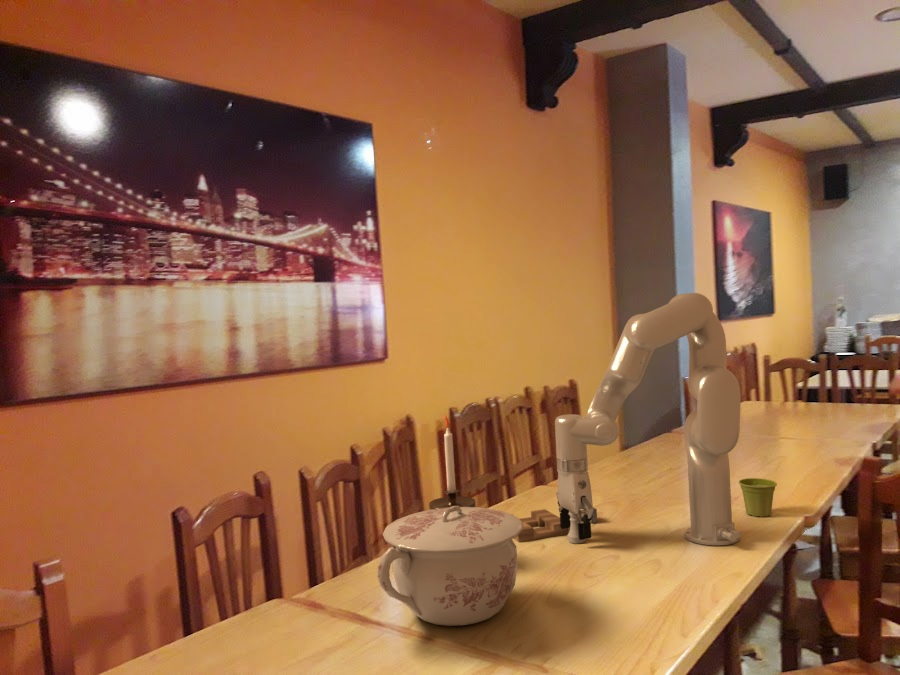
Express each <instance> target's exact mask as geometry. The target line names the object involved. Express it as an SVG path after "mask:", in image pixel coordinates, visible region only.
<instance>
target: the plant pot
mask: <svg viewBox="0 0 900 675" xmlns="http://www.w3.org/2000/svg"><path fill="white" fill-rule="evenodd" d="M738 484H739V485H740V489H741V491H742V496H743V497H742V498H743V503H744V508H745V514H747V516H750V515H751V516H753V517H755V516H760V517H759V518H764V517H763V516H766V517H769V516H768V515H770V516H772V510H773V501H774V494H775V490H776V487H777V485H778V483H777V482H776V481H774V480H772V479H767V478H758V477H757V478H756V477H748V478H742V479H740V480H738ZM761 516H762V517H761Z"/></svg>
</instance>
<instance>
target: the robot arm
mask: <svg viewBox="0 0 900 675" xmlns="http://www.w3.org/2000/svg"><path fill="white" fill-rule="evenodd" d="M685 336H686V338H687V341H688V353H689V354H688V355H689V356H688V379H687V380H688V382H687V386H688V392H689V393H690V395H691V396H692V398H694V400H696V409H695V410H692V412H690V413H689V414H688V416H687V417H686V419H685V422H684V425H683V435H684V436H683V437H684V442H685V449H686V458H687V459H686V460H687V471H688V472H687V473H688V474H687V476H688V477H687V480H688V497H689V499H688V500H689V516H690V527H688V528H687V529H685V530H684V538H685V539H687V540H688V541H690V542H692V543H696V544H699V545H707V546H728V545H733V544H736V543H738V542H739V541H740V540H741V539H740V538H741V536H742V532H741V531H739V530H735V529H736V527H735V522H733V517H732V516H733V512H732V494H731V493H732V492H731V470H730V467H731V466H730V458H729V453H730V452H731V451H733V449H735V447H736V446H737V444H738V440H739V438H740V429H741V388H740V384H739V380H738V379H737V377H736V376H735V374H734V373H733V372H731V371H730V370H729V369H728V368H727V362H728V360H727V359H728V358H727V340H726V339H727V338H726V334H725V329H724V327H723V325H722V323H721V321H720V319H719V318H718V316H717V315H716V313H714V309H713V304H712V302H711V301H710V299H709V298H708V297H706V296H705V295H704V294H701V293H698V292H687V293H680V294H677V295H674V297H672V298H671V299H670V300H669V302H668V303H666V304H664V305H662V306H660V307H657V308H656V309H653V310H650V311H648V312H646V313H639V314H634V315H633V316H631V317H630V318H629V319H628V320H627V322H626V324H625V325H624V327H623V330H622V332H621V335H620V338H619V340H618V342H617V345H616V346H615V350H614V352H613V354H612V357H611V359H610V361H609V363H608V366H607V368H606V371H605V372H604V374H603V376H602V379H601V381H600V383H599V385H598V387H597V389H596V391H595V393H594V396H593V398H592V400H591V402H590V405H589V407H588V409H587V411H586V414H585V417H584V416H583V415H580V414H576V413H575V414H561V415H558V416H557V417H555V420H554V430H555V431H554V434H555V452H556V472H558V473H557V491H556V492H555V493H556V498H557V504H558V512H559V517H560V527H561V528H562V529H565V528H569V529H570V525H571V521H570V515H569V514H568V513H569V512H570V511H571V512H573V513H575V514H577V517H578V520H579V522H580V523H578V536H579V539H580V540H584V539H585V540H588V539H589V540H590V539H591V538H592V526H591V524H592V520H591V519H592V517H593V515H592V514H593V508H594V507H593V495H592V494H593V493H592V486H591V480H590V476H589V472H588V470H589V468H588V450H587V448H588V447H587V445H590V446H591V445H592V446H601V447H605V446H610V445H611V444H613V443H615V442H616V440H617V439H618V437H619V434H620V428H619V425H618V423H617V422H616V421H617V418H618V416H619V413H620V411H621V408H622V407H623V404H624V402H625V400H626V399H627V398H628V397H629V394H631V393H632V392H633V391H634V390H635V389H636V388H637V387H638V386H639V385H640V383H641V381H642V378H643V376H644V374H645V372H646V369H647V367H648V365H649V362H650V359H651V357H652V355H653V353H654V351H655V349H657V348H660V347H663V346H664V345H668V344H671V343H672V342H675V341H676V340H679V339H681V338H683V337H685ZM583 509H584V510H583ZM581 514H584V516H583V517H582V516H581Z"/></svg>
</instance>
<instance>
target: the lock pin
mask: <svg viewBox="0 0 900 675" xmlns="http://www.w3.org/2000/svg"><path fill="white" fill-rule="evenodd" d="M582 510H584V509H582ZM592 515H593V517H592V519H591V520H592V522H591V524H595V523H598V511H597V508H596V507H593V514H592ZM581 516H582V517H583V516H584V514H581Z"/></svg>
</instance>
